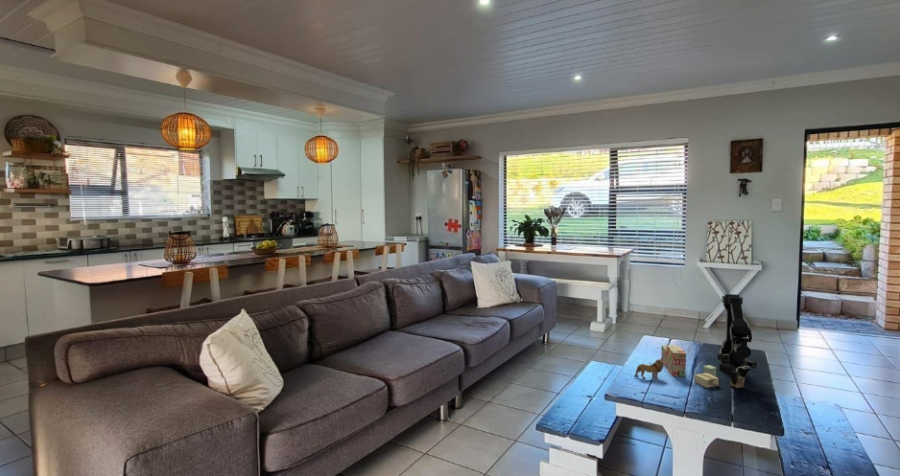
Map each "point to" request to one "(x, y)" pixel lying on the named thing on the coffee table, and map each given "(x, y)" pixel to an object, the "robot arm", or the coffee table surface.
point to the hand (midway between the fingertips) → (737, 383)
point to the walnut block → (738, 382)
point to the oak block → (706, 380)
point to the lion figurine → (650, 368)
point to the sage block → (709, 370)
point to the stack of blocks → (674, 359)
